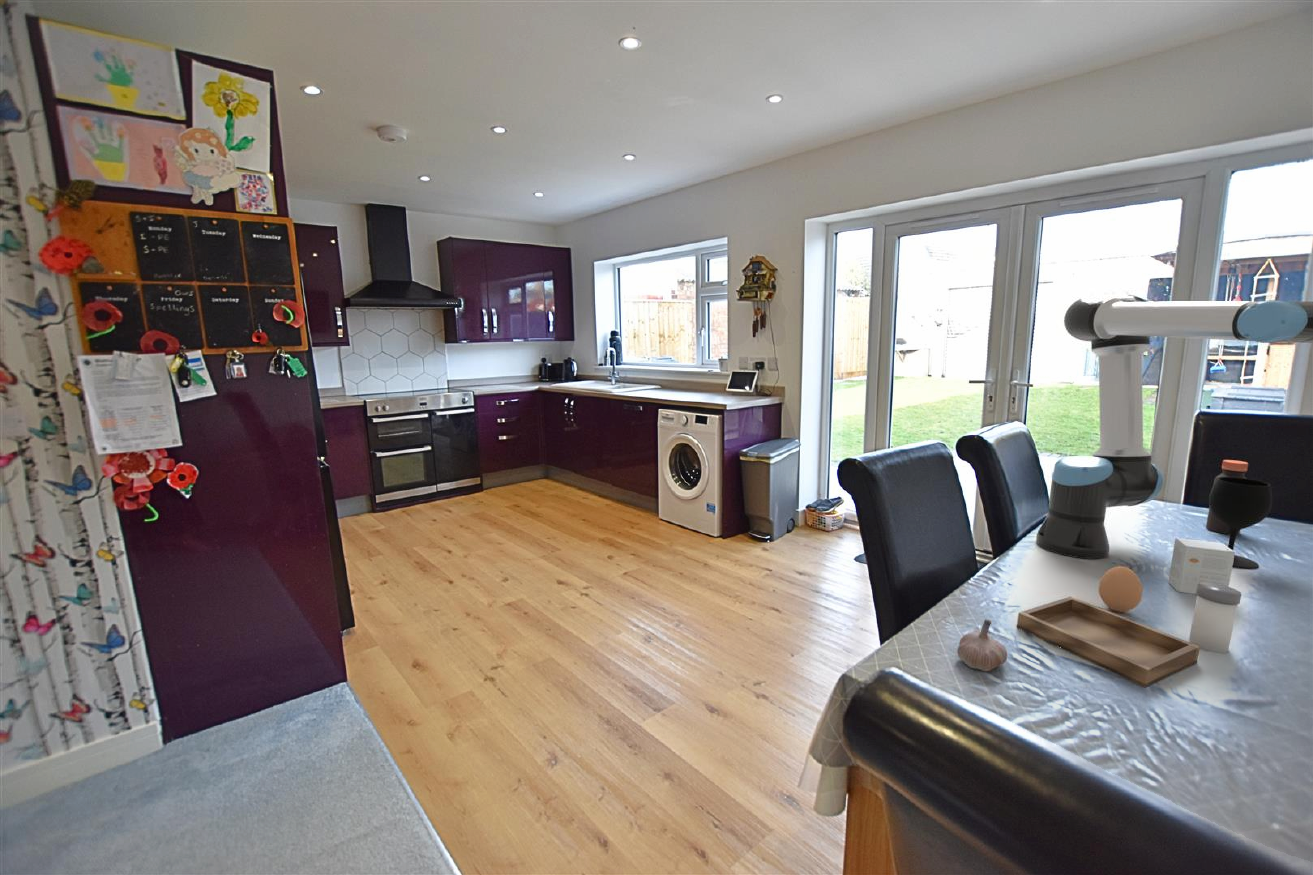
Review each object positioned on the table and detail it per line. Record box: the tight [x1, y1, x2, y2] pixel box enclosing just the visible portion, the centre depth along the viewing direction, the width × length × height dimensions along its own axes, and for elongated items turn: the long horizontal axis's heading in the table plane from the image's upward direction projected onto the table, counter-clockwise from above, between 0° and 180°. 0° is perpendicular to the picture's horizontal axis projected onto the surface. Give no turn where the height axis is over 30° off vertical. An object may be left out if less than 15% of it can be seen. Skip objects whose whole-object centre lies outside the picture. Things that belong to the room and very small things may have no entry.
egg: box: [1098, 565, 1143, 613], centre depth 110 cm, size 7×7×9 cm
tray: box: [1016, 596, 1201, 688], centre depth 99 cm, size 20×16×3 cm
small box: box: [1168, 537, 1236, 595], centre depth 119 cm, size 8×6×10 cm
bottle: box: [1205, 459, 1249, 535], centre depth 155 cm, size 7×7×20 cm
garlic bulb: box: [956, 618, 1008, 672], centre depth 92 cm, size 8×7×8 cm
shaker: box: [1188, 582, 1243, 654], centre depth 98 cm, size 5×5×11 cm
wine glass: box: [1208, 477, 1273, 570], centre depth 134 cm, size 10×10×20 cm
